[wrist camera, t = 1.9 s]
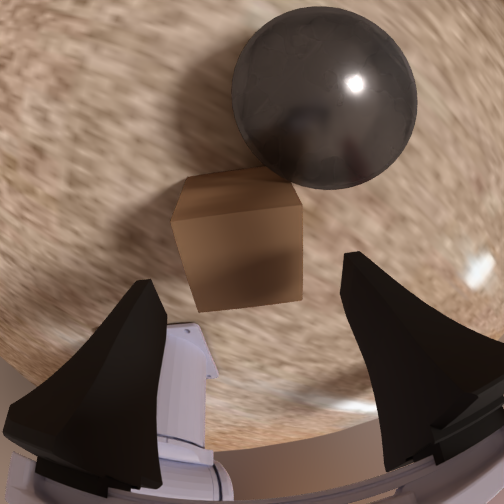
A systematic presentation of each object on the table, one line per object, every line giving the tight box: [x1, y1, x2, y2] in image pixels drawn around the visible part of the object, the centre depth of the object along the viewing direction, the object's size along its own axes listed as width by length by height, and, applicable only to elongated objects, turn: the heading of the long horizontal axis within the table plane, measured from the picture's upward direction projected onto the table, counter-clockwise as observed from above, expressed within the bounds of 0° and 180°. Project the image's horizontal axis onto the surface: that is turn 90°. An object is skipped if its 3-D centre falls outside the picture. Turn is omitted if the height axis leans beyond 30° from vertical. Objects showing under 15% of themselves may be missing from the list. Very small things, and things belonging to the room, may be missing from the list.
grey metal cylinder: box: [232, 7, 417, 190], centre depth 11 cm, size 8×8×3 cm
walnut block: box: [170, 166, 303, 313], centre depth 14 cm, size 5×5×5 cm
